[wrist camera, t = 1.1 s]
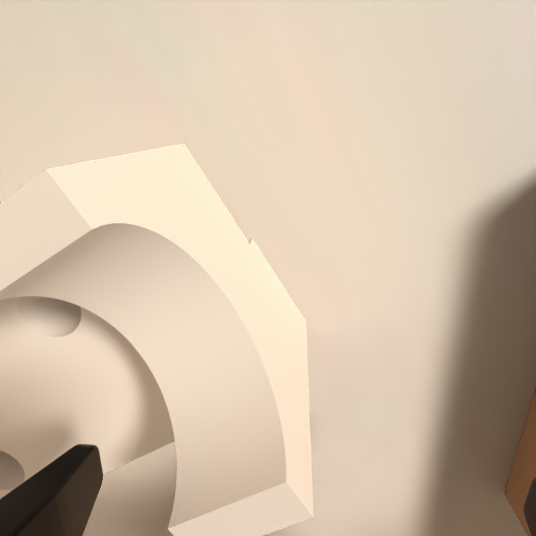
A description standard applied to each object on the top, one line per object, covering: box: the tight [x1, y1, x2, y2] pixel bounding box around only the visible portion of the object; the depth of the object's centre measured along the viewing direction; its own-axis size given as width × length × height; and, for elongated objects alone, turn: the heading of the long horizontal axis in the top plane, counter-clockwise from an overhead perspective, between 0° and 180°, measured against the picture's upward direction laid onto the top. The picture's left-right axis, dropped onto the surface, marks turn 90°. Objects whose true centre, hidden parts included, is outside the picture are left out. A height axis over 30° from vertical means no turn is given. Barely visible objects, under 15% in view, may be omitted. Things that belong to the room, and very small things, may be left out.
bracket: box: [0, 143, 313, 536], centre depth 11 cm, size 13×7×8 cm, turn 122°
